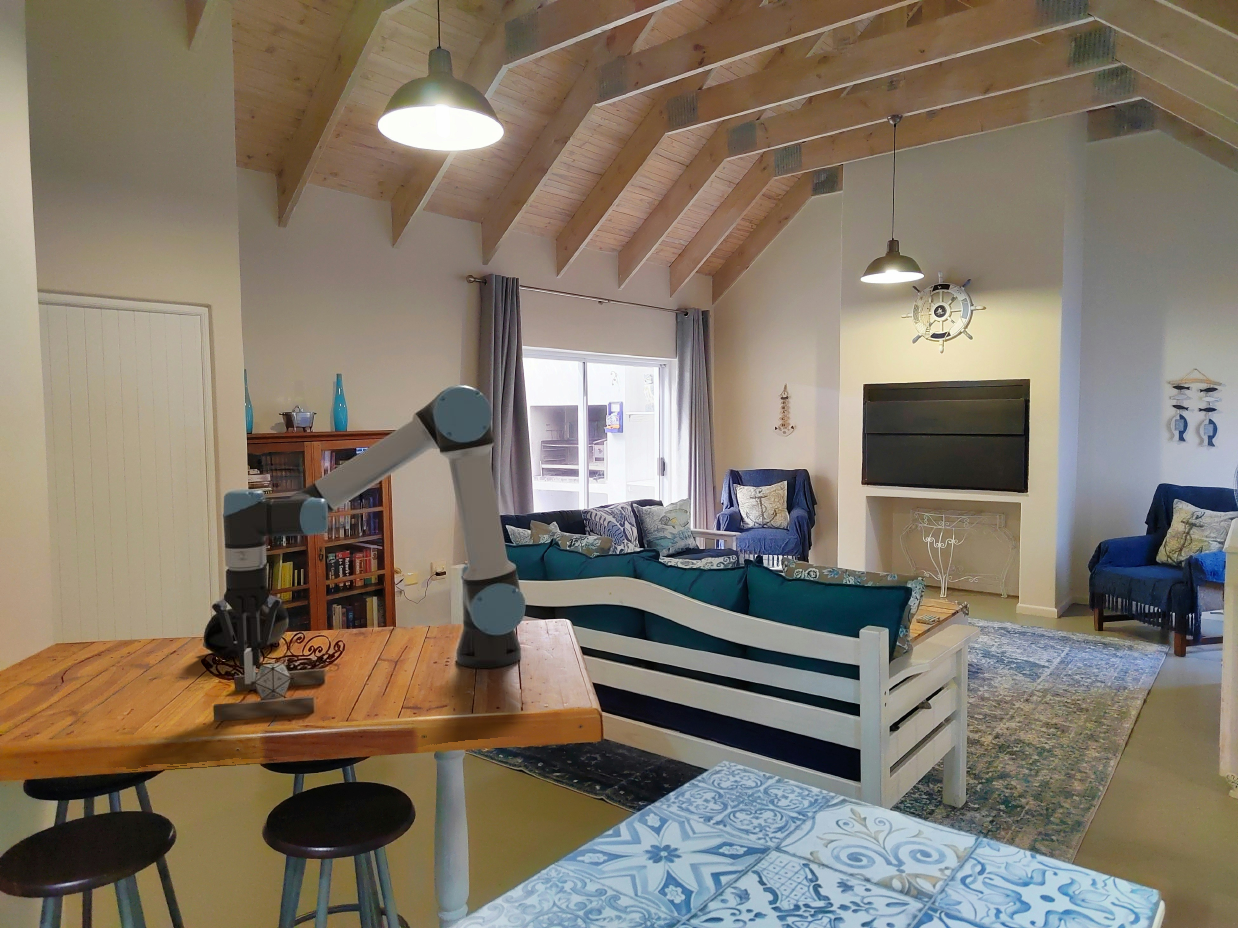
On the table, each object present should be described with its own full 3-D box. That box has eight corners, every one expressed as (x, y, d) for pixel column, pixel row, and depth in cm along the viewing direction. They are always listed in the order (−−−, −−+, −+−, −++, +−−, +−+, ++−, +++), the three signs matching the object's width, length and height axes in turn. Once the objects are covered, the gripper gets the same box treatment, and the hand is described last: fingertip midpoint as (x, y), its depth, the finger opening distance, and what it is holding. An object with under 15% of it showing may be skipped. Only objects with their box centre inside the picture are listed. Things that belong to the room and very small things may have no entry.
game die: (277, 719, 162) (278, 690, 156) (240, 703, 162) (240, 674, 156) (302, 686, 169) (304, 658, 163) (267, 671, 169) (267, 642, 163)
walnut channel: (325, 681, 173) (324, 668, 173) (313, 712, 156) (313, 697, 156) (235, 689, 169) (235, 675, 169) (213, 721, 152) (213, 706, 152)
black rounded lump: (201, 683, 189) (174, 634, 188) (254, 652, 209) (231, 607, 209) (267, 651, 185) (240, 600, 184) (314, 622, 205) (290, 577, 205)
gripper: (205, 572, 155) (210, 690, 156) (277, 568, 158) (281, 684, 159) (215, 564, 162) (220, 677, 163) (284, 561, 165) (287, 672, 166)
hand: (250, 681), depth 161 cm, fingers closed
